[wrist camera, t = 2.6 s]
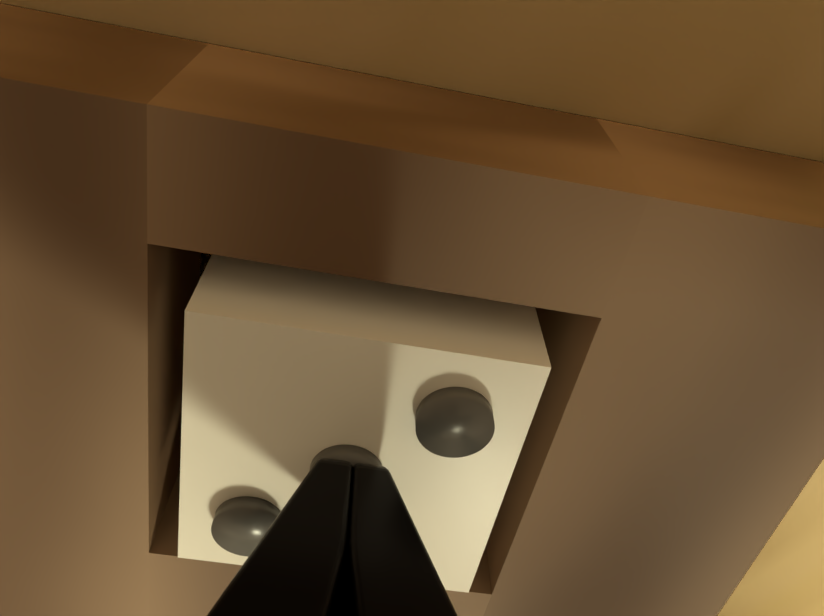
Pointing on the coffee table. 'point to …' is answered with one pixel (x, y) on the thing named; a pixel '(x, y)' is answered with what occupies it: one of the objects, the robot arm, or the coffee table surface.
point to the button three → (350, 403)
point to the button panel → (403, 265)
